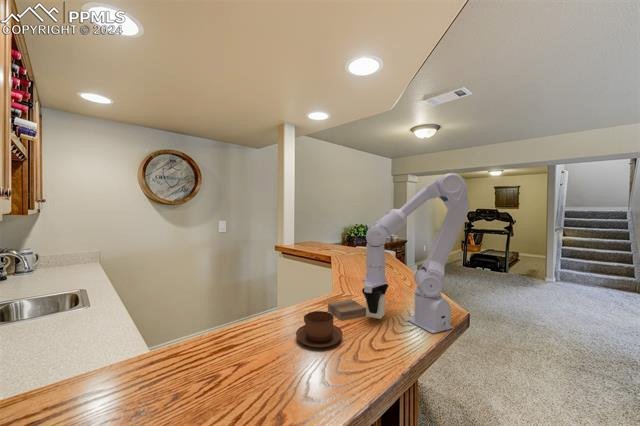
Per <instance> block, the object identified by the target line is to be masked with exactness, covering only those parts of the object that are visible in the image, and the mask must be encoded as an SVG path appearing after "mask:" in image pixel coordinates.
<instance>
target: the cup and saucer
mask: <svg viewBox="0 0 640 426" xmlns="http://www.w3.org/2000/svg"><path fill="white" fill-rule="evenodd" d="M303 322H304V325H302V326H301V327H299V328H298V329H297V330H296V332H295V336H296V338H297V340H298V341H299V343H302V344H303V345H305V346H307V347H311V348H327V347H331V346H333V345H336V344H338V343H339V341H341V340H342V338H343V331H342V329H341V328H340V327H338V326H337V325H334V315H333V314H332V313H330V312H329V311H326V310H325V311H323V310H316V311H310V312H308V313H306V314H304V315H303Z"/></svg>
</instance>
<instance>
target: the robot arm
mask: <svg viewBox="0 0 640 426" xmlns="http://www.w3.org/2000/svg"><path fill="white" fill-rule="evenodd" d="M436 198H438V199H440V200H441V201H442V202H443V203H444V205H445V207H446V209H447V211H446V214H445V216H444V219H443V221H442V223H441V225H440V227H439V230H438V232H437V235H436V237H435V239H434V242H433V244H432V246H431V249H430V250H429V253H428V256H427V258H426V259H425V260H424V261H423V263H422V265H421V267H420V268H418V269H417V270H416V271H415V272H414V282H415V284H416V285H417V286H416V288H415V289H414V317H411V318H408V319H407V321H408V322H410V323H412V324H413V325H415V326H417V327H419V328H421V329H423V330H425V331H426V332H429V333H431V334H436V333H439V332H443V331H447V330H450V329H451V330H452V329H453V325H451V317H452V314H451V313H452V312H451V311H452V310H451V309H452V308H451V304H450V302H449V301H448V300H447V299H445V298H443V296H442V291H443V287H444V284H443V279H444V277H445V266H446V264H447V261H448V259H449V257H450V255H451V253H452V250H453V248H454V246H455V244H456V241H457V239H458V236H459V233H460V232H461V230H462V227H463V225H464V223H465V220H466V218H467V216H468V213H469V211H470V204H469V199H468V184H467V183H466V181H465V180H464V178H463V177H462V176H461V175H460V174H458V173H455V172H449V173H446V174H445V173H444V175H442V176H440V177H438V178H436V179H435V180H434V181H432V182H430V183H429V184H428V185H426V186H424V187H423V188H421V189H420V190H419V191H418V192H417V193H416V194H415V195H413V197H411V198H410V199H409V200H408V201H407V202H405V203H404V204H403V205H402V206H401V207H400V208H391V210H390V209H388V210H386V211H385V214H384V216H383V217H382V218H380V219H378V221H374V223H373V224H374V225H372V226H371V227H369V228H368V229H367V230H366V234H365V239H366V250H365V255H366V256H365V258H366V259H365V268H366V269H365V272H366V273H365V277H363V278H362V282H365V284H364V285H363V286H364V287H363V288H362V290H361V292H362V294H363V296H364V298H365V302H366V301H367V304H368V309H369V312H370V313H374V314H376V313H377V310H378V302H379V298H380V295H381V294H385V295H386V293H387V291H388V288H389V283H387V280H386V278H387V277H386V276H387V275H386V250H385V243H386V241H387V237H392V235H394V234H395V233H396V232H397V231H399V230H400V229H401V228H402V227H403V226H404V225H406V223H407V217H408V216H410V215H412V213H414V211H416V210H418V209H419V208H420V207H421V206H422V205H424V204H425V203H426V202H428V201H429V200H432V199H436Z"/></svg>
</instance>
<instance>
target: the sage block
mask: <svg viewBox="0 0 640 426" xmlns="http://www.w3.org/2000/svg"><path fill="white" fill-rule="evenodd" d="M365 308H366V316H365V317H370V318H374V319H379V320H381V319H382V318H383V317H384V315H386V293H385V294H381V295H380V298H379V302H378V310H377V313H376V314H374V313H370V312H369V309H368V304H367V301H366V300H365Z"/></svg>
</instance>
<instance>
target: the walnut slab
mask: <svg viewBox="0 0 640 426" xmlns="http://www.w3.org/2000/svg"><path fill="white" fill-rule="evenodd" d="M327 312H329V313H331V314H332V315H333V317H335V318H337V319H338V320H339V321H341V322H343V321H344V322H345V321H347V320H353V319H358V318H362V317H363V318H364V317H367V316H366V306H364V305H362V304H360V303H359V302H357V301H356V300H353V299H352V298H350V299H344V300H338V301H331V302H328V303H327Z"/></svg>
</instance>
